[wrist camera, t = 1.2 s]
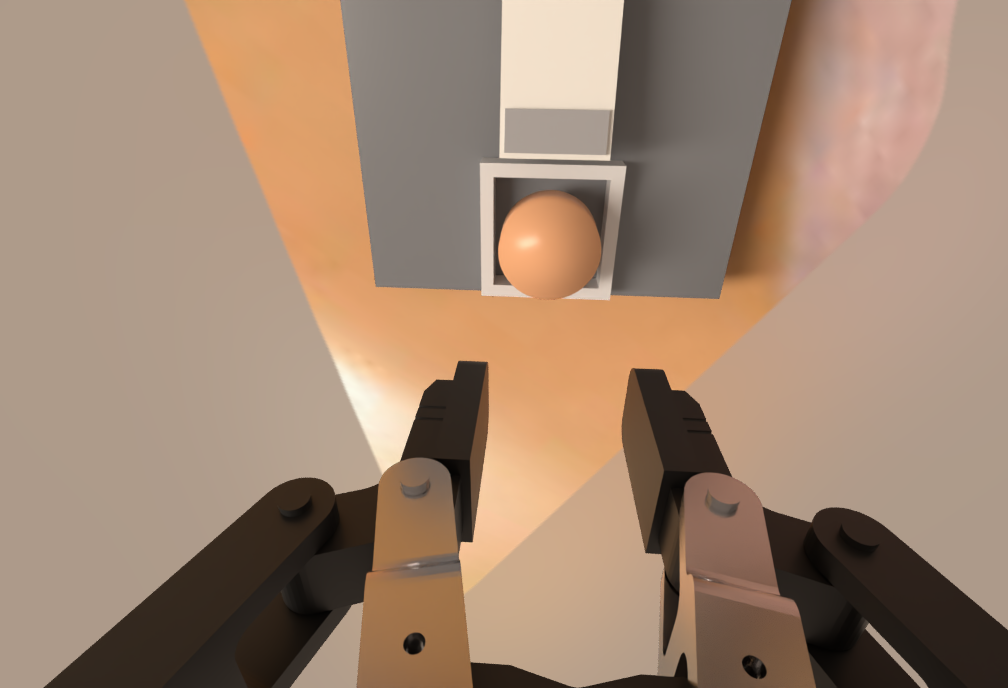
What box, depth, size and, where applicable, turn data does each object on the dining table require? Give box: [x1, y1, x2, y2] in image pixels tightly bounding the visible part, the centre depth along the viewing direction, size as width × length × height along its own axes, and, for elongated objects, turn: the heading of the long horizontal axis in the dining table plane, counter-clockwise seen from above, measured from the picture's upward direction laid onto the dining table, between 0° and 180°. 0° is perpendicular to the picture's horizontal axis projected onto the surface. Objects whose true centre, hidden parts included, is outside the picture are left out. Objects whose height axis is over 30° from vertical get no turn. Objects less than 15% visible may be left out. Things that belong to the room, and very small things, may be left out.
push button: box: [498, 190, 601, 300], centre depth 23 cm, size 4×4×2 cm
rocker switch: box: [499, 0, 624, 161], centre depth 20 cm, size 4×7×1 cm, turn 179°
